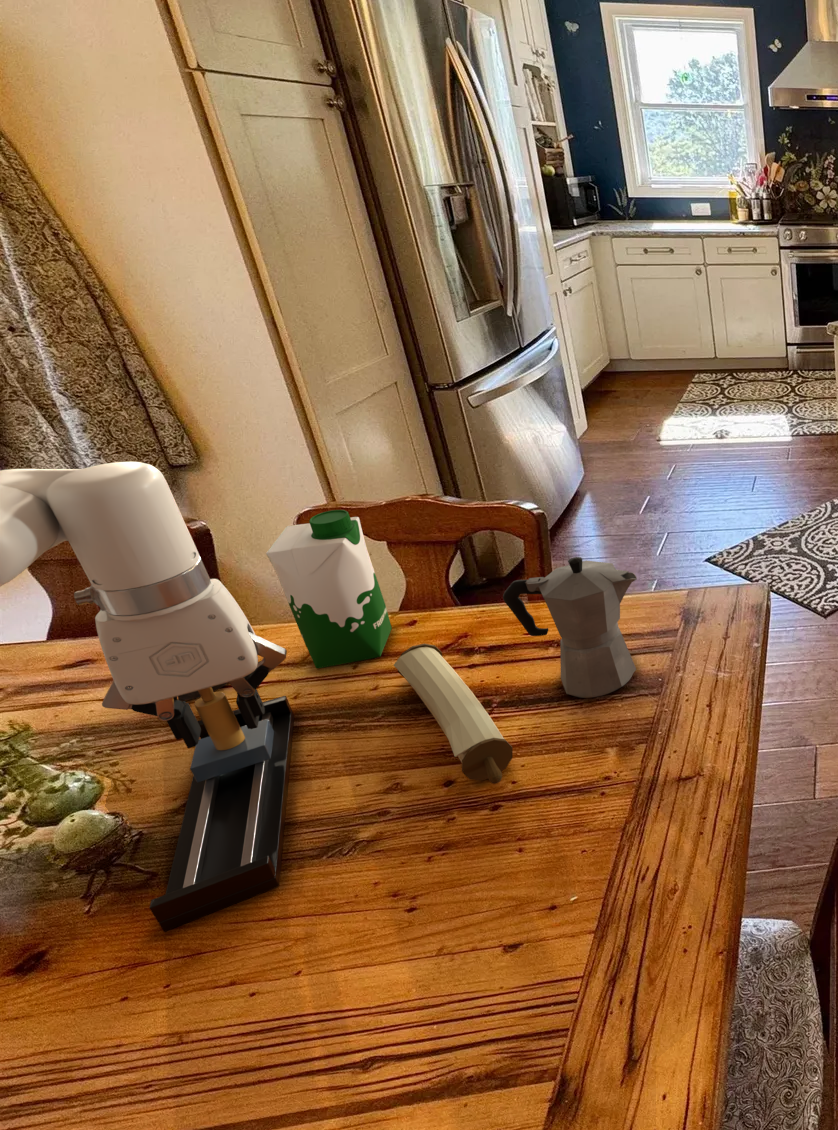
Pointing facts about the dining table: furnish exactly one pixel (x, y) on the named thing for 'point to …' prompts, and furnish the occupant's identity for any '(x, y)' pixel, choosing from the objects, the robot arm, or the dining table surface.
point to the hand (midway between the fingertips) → (224, 728)
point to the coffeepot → (582, 623)
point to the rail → (231, 831)
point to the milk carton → (332, 588)
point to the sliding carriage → (227, 739)
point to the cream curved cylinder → (456, 713)
